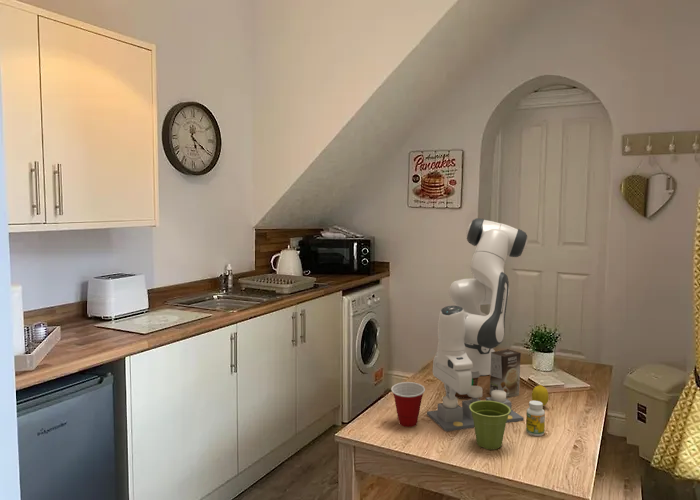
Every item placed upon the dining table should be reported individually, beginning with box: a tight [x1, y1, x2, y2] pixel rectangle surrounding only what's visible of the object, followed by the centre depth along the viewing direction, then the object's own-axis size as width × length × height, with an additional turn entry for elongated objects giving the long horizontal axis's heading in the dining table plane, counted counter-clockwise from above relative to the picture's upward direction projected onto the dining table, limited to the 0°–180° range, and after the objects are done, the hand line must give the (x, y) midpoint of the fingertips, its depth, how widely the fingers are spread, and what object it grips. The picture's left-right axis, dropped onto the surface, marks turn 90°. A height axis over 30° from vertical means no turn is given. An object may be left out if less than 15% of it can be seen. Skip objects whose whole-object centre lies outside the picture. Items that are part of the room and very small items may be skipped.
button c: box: [442, 395, 459, 408], centre depth 180 cm, size 5×5×6 cm
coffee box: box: [489, 348, 522, 399], centre depth 202 cm, size 9×6×16 cm
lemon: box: [531, 384, 549, 406], centre depth 191 cm, size 6×6×8 cm
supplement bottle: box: [525, 400, 546, 437], centre depth 171 cm, size 5×5×10 cm
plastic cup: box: [390, 381, 426, 428], centre depth 177 cm, size 11×11×12 cm
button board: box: [426, 396, 524, 432], centre depth 183 cm, size 14×28×5 cm, turn 107°
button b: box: [467, 385, 483, 403], centre depth 182 cm, size 5×5×6 cm
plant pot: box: [469, 400, 512, 450], centre depth 163 cm, size 12×12×11 cm
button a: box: [490, 390, 507, 402], centre depth 185 cm, size 5×5×6 cm
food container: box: [455, 371, 481, 400], centre depth 202 cm, size 12×6×10 cm, turn 45°
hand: (450, 398), depth 179 cm, fingers closed, pressing on button c
